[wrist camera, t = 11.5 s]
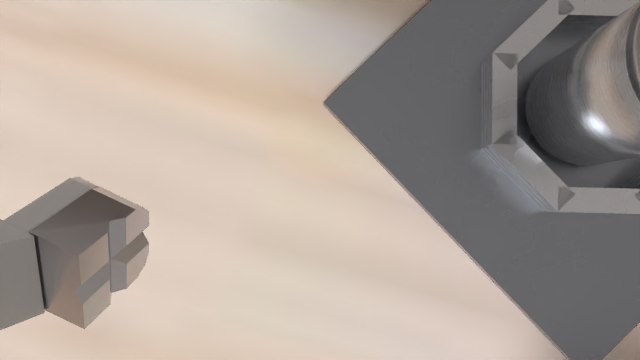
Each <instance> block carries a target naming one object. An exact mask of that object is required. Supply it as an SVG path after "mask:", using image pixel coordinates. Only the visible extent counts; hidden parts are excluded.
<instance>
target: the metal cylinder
mask: <svg viewBox="0 0 640 360" xmlns="http://www.w3.org/2000/svg"><path fill="white" fill-rule="evenodd" d="M525 108H526V117H527V122H528V125H529V128H530V130H531V132H532V134H533V136H534V138H535V139H536V141H537V142H538V143H539V144H540V146H541V147H542V148H543V149H544V150H545V151H547V152H548V153H549V154H550V155H552V156H553V157H555V158H557V159H559V160H561V161H563V162H566V163H569V164H574V165H581V166H589V165H597V164H603V163H609V162H615V161H621V160H627V159H633V158H639V157H640V1H639V2H638V3H636V4H635V5H633V6H632V7H630V8H629V9H627V10H626V11H624V12H623V13H621V14H620V15H618V16H617V17H615V18H614V19H612V20H611V21H609V22H608V23H606V24H605V25H603V26H602V27H600V28H599V29H597V30H596V31H594V32H592V33H591V34H589V35H588V36H586V37H585V38H583V39H582V40H580V41H579V42H577V43H576V44H574V45H573V46H571V47H570V48H568V49H567V50H565V51H564V52H562V53H561V54H559V55H558V56H556V57H555V58H553V59H552V60H550V61H549V62H547V63H546V64H545V65H544V66H543V67H542V68H541V69H540V70H539V71H538V72H537V74H536V75H535V76H534V78H533V80H532V82H531V84H530V86H529V89H528V92H527V96H526V106H525Z"/></svg>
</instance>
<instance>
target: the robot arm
mask: <svg viewBox="0 0 640 360" xmlns="http://www.w3.org/2000/svg"><path fill="white" fill-rule="evenodd" d="M148 226H149V211H147V210H146V209H145V208H143V207H141V206H139V205H137V204H135V203H133V202H131V201H129V200H127V199H125V198H122V197H120V196H118V195H116V194H114V193H112V192H110V191H108V190H106V189H104V188H102V187H99V186H97V185H95V184H93V183H90V182H88V181H86V180H84V179H82V178H80V177H75V178H69V179H68V180H66V181H64V182H63V183H61V184H60V185H58V186H57V187H55V188H54V189H52V190H50V191H49V192H47V193H46V194H44V195H43V196H41V197H39V198H38V199H36V200H35V201H33V202H32V203H30V204H28V205H27V206H25V207H24V208H22V209H21V210H19V211H17V212H16V213H14V214H13V215H11V216H10V217H8V218H7V219H5V220H1V219H0V330H2V329H4V328H7V327H9V326H12V325H15V324H17V323H20V322H22V321H25V320H27V319H30V318H32V317H35V316H38V315H40V314H43V313H44V312H45V310H46V311H48V312H50V313H52V314H54V315H56V316H59V317H61V318H63V319H65V320H67V321H69V322H71V323H73V324H75V325H77V326H79V327H81V328H83V329H85V328H86V327H87V326H88V325H89V324H90V323H91V322H92V321H93V320H94V319H96V318H97V317H98V316H99V315H100V314H101V313H102V312H103V311H104V310H105V309H106V308H107V307H108V306H109V305H110V303H111V293H112V292H116V291H119V290H123V289H126V288H128V287H129V286H130V285H131V283H132V282H133V281H134V280H135V279H136V278H137V277H138V275H139V274H140V272H141V270H142V269H143V267H144V266H145V263H146V260H147V256H148V252H149V243H148V241H147V239H146V237H145V235H144V234H143V232H142V231H144V230H145V229H146V228H147V227H148Z"/></svg>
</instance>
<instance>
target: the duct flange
mask: <svg viewBox="0 0 640 360" xmlns="http://www.w3.org/2000/svg"><path fill="white" fill-rule="evenodd" d="M639 1H640V0H431V1H430V2H429V3H428V4H427V5H426V6H425V7H424V8H423V9H421V10H420V11H419V12H418V13H417V14H416V15H415V16H414V17H413V18H412V19H411V20H410V21H409V22H408V23H407V24H406V25H404V26H403V27H402V28H401V29H400V30H399V31H398V32H397V33H396V34H395V35H394V36H393V37H392V38H391V39H390V40H389V41H388V42H386V43H385V44H384V45H383V46H382V47H381V48H380V49H379V50H378V51H377V52H376V53H375V54H374V55H373V56H372V57H371V58H370V59H368V60H367V61H366V62H365V63H364V64H363V65H362V66H361V67H360V68H359V69H358V70H357V71H356V72H355V73H354V74H353V75H351V76H350V77H349V78H348V79H347V80H346V81H345V82H344V83H343V84H342V85H341V86H340V87H339V88H338V89H337V90H336V91H335V92H333V93H332V94H331V95H330V96H329V97H328V98H327V99H326V100H325V101H324V102H323V105H324V106H325V107H326V108H327V109H328V110H329V111H330V112H331V113H332V114H333V115H334V117H335V118H336V119H337V120H338V121H339V122H340V123H341V124H342V125H343V126H344V127H345V128H346V129H347V130H348V131H349V132H350V133H351V134H352V135H353V136H354V137H355V138H356V139H357V140H358V142H359V143H360V144H361V145H362V146H363V147H364V148H365V149H366V150H367V151H368V152H369V153H370V154H371V155H372V156H373V157H374V158H375V159H376V160H377V161H378V162H379V163H380V164H381V165H382V166H383V168H384V169H385V170H386V171H387V172H388V173H389V174H390V175H391V176H392V177H393V178H394V179H395V180H396V181H397V182H398V183H399V184H400V185H401V186H402V187H403V188H404V189H405V190H406V191H407V193H408V194H409V195H410V196H411V197H412V198H413V199H414V200H415V201H416V202H417V203H418V204H419V205H420V206H421V207H422V208H423V209H424V210H425V211H426V212H427V213H428V214H429V215H430V216H431V217H432V219H433V220H434V221H435V222H436V223H437V224H438V225H439V226H440V227H441V228H442V229H443V230H444V231H445V232H446V233H447V234H448V235H449V236H450V237H451V238H452V239H453V240H454V241H455V242H456V244H457V245H458V246H459V247H460V248H461V249H462V250H463V251H464V252H465V253H466V254H467V255H468V256H469V257H470V258H471V259H472V260H473V261H474V262H475V263H476V264H477V265H478V266H479V267H480V268H481V270H482V271H483V272H484V273H485V274H486V275H487V276H488V277H489V278H490V279H491V280H492V281H493V282H494V283H495V284H496V285H497V286H498V287H499V288H500V289H501V290H502V291H503V292H504V293H505V295H506V296H507V297H508V298H509V299H510V300H511V301H512V302H513V303H514V304H515V305H516V306H517V307H518V308H519V309H520V310H521V311H522V312H523V313H524V314H525V315H526V316H527V317H528V318H529V319H530V321H531V322H532V323H533V324H534V325H535V326H536V327H537V328H538V329H539V330H540V331H541V332H542V333H543V334H544V335H545V336H546V337H547V338H548V339H549V340H550V341H551V342H552V343H553V344H554V345H555V347H556V348H557V349H558V350H559V351H560V352H561V353H562V354H563V355H564V356H565V357H566V358H567V359H568V360H602V359H603V358H604V357H605V356H606V355H607V354H608V353H609V352H610V351H611V350H612V349H613V348H614V347H615V346H616V345H617V344H618V343H619V342H620V341H621V340H622V339H623V338H624V337H625V336H626V335H627V334H628V333H629V332H630V331H631V330H632V329H633V328H634V327H635V326H636V325H637V324H638V323H639V322H640V157H639V158H633V159H627V160H621V161H615V162H609V163H603V164H597V165H589V166H581V165H574V164H569V163H566V162H563V161H561V160H559V159H557V158H555V157H553V156H552V155H550V154H549V153H548V152H547V151H545V150H544V149H543V148H542V147H541V146H540V144H539V143H538V142H537V141H536V139H535V138H534V136H533V134H532V132H531V130H530V128H529V125H528V122H527V117H526V108H525V106H526V96H527V92H528V89H529V86H530V84H531V82H532V80H533V78H534V76H535V75H536V74H537V72H538V71H539V70H540V69H541V68H542V67H543V66H544V65H545V64H546V63H547V62H549V61H550V60H552V59H553V58H555V57H556V56H558V55H559V54H561V53H562V52H564V51H565V50H567V49H568V48H570V47H571V46H573V45H574V44H576V43H577V42H579V41H580V40H582V39H583V38H585V37H586V36H588V35H589V34H591V33H592V32H594V31H596V30H597V29H599V28H600V27H602V26H603V25H605V24H606V23H608V22H609V21H611V20H612V19H614V18H615V17H617V16H618V15H620V14H621V13H623V12H624V11H626V10H627V9H629V8H630V7H632V6H633V5H635V4H636V3H638V2H639Z"/></svg>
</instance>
